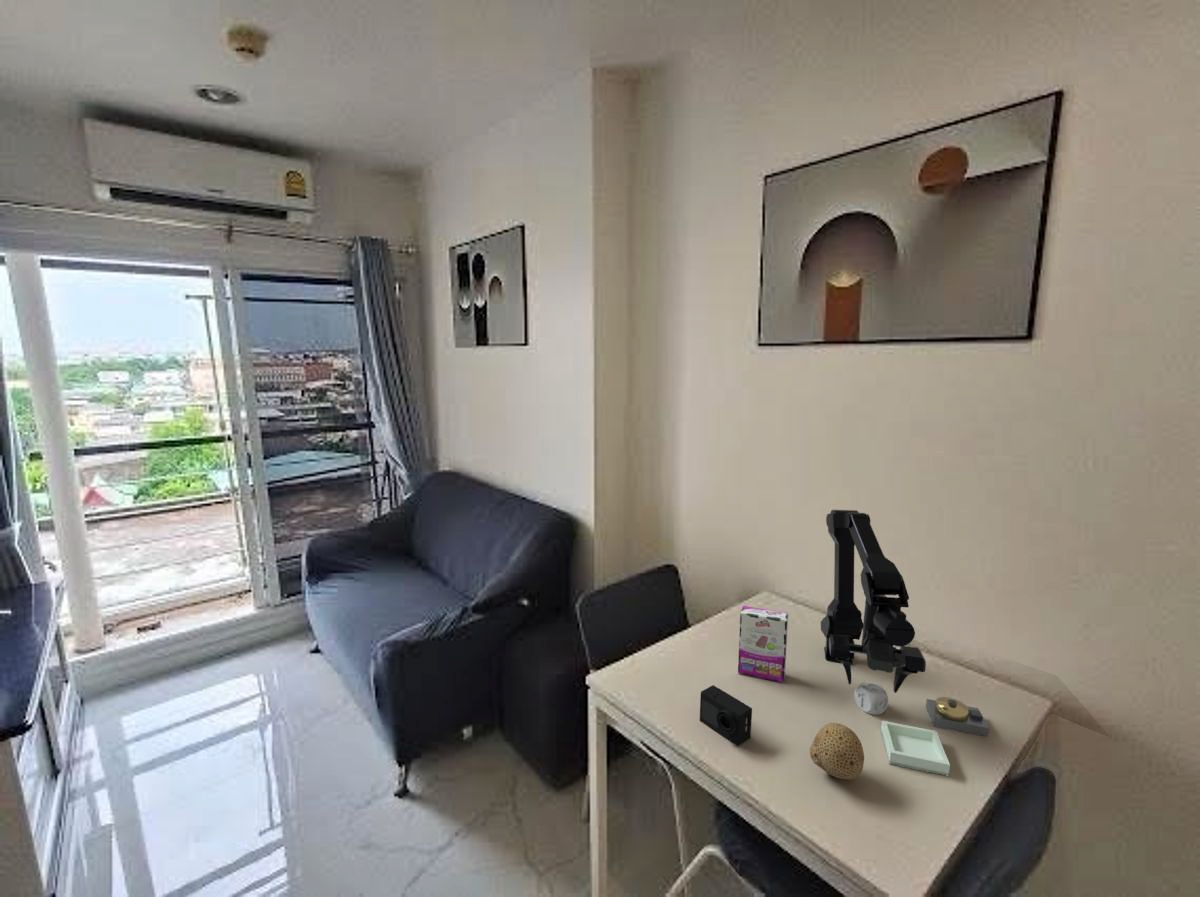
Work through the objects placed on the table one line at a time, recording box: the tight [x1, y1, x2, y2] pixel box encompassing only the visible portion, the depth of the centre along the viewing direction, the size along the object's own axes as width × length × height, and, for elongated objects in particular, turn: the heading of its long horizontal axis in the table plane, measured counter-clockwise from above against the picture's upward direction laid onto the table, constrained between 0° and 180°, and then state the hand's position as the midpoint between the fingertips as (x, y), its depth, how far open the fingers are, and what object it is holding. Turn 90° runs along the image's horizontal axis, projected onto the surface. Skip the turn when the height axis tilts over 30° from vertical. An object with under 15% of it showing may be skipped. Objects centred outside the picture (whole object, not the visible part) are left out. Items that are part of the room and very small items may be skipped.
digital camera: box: [699, 685, 753, 747], centre depth 114 cm, size 10×5×7 cm, turn 38°
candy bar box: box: [737, 605, 789, 684], centre depth 134 cm, size 11×5×16 cm, turn 68°
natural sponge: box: [809, 722, 865, 780], centre depth 101 cm, size 9×9×10 cm
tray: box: [880, 720, 951, 776], centre depth 108 cm, size 10×10×2 cm
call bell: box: [925, 696, 990, 737], centre depth 117 cm, size 10×7×4 cm
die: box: [854, 681, 889, 716], centre depth 122 cm, size 5×5×5 cm
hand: (871, 687), depth 122 cm, fingers open, 9 cm apart
